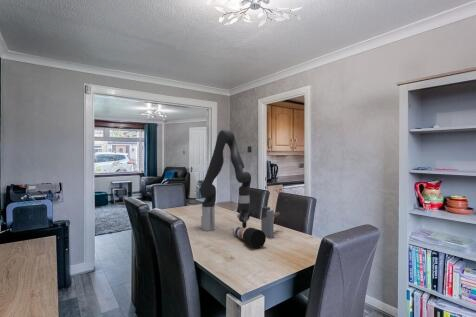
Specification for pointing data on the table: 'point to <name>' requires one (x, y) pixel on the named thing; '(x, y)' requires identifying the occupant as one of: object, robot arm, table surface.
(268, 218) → the clamp post
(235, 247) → the table surface
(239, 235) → the telephoto camera lens
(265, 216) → the hold down bar
